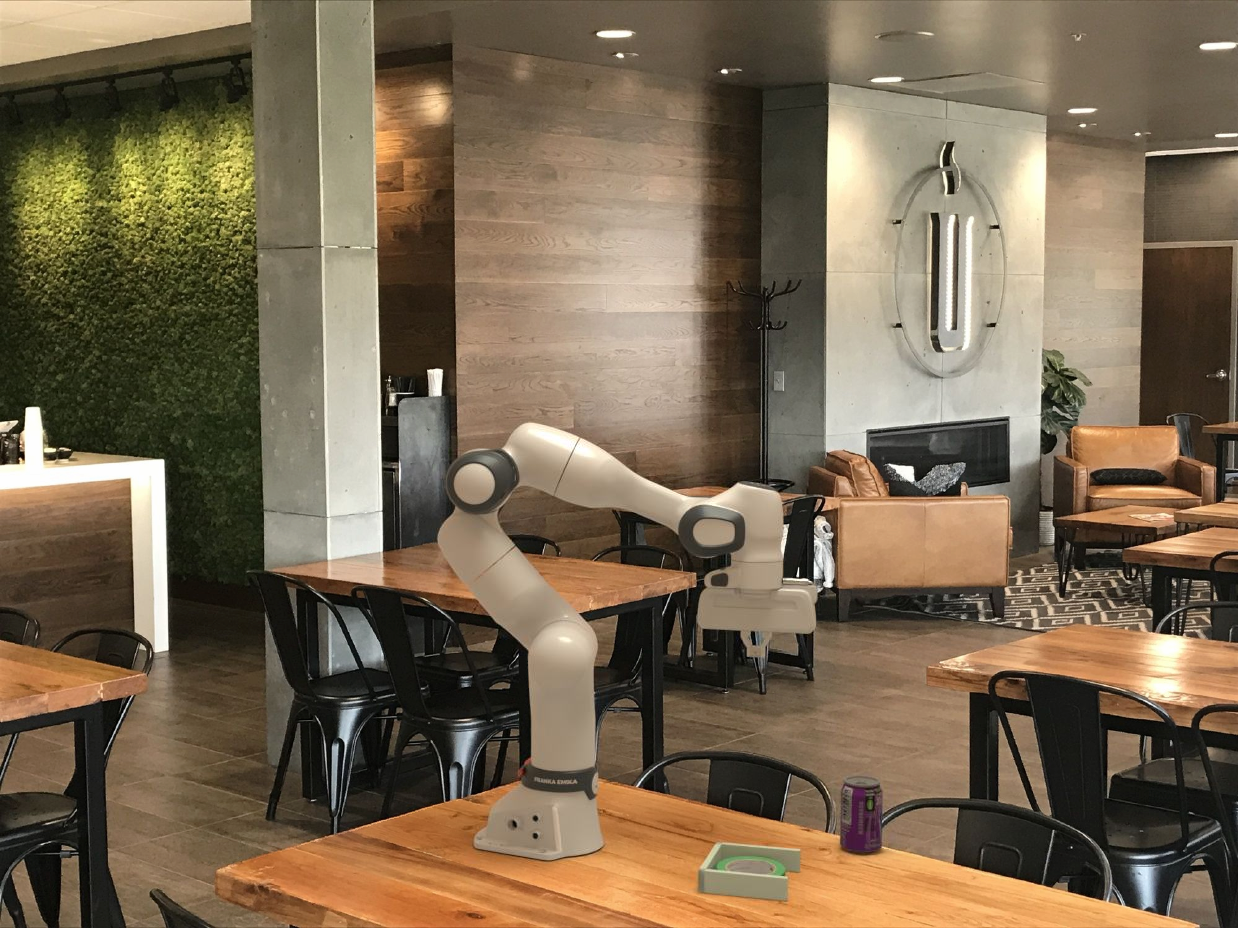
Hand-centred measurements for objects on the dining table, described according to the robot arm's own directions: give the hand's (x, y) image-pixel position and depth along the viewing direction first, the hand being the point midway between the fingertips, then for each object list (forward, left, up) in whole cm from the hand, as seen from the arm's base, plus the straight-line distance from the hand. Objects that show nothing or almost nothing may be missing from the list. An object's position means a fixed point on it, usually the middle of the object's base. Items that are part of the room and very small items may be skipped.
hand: (756, 656), depth 250 cm
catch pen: (+3, -17, -33) cm, 38 cm away
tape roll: (+2, -17, -34) cm, 38 cm away
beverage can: (+18, +4, -33) cm, 38 cm away
